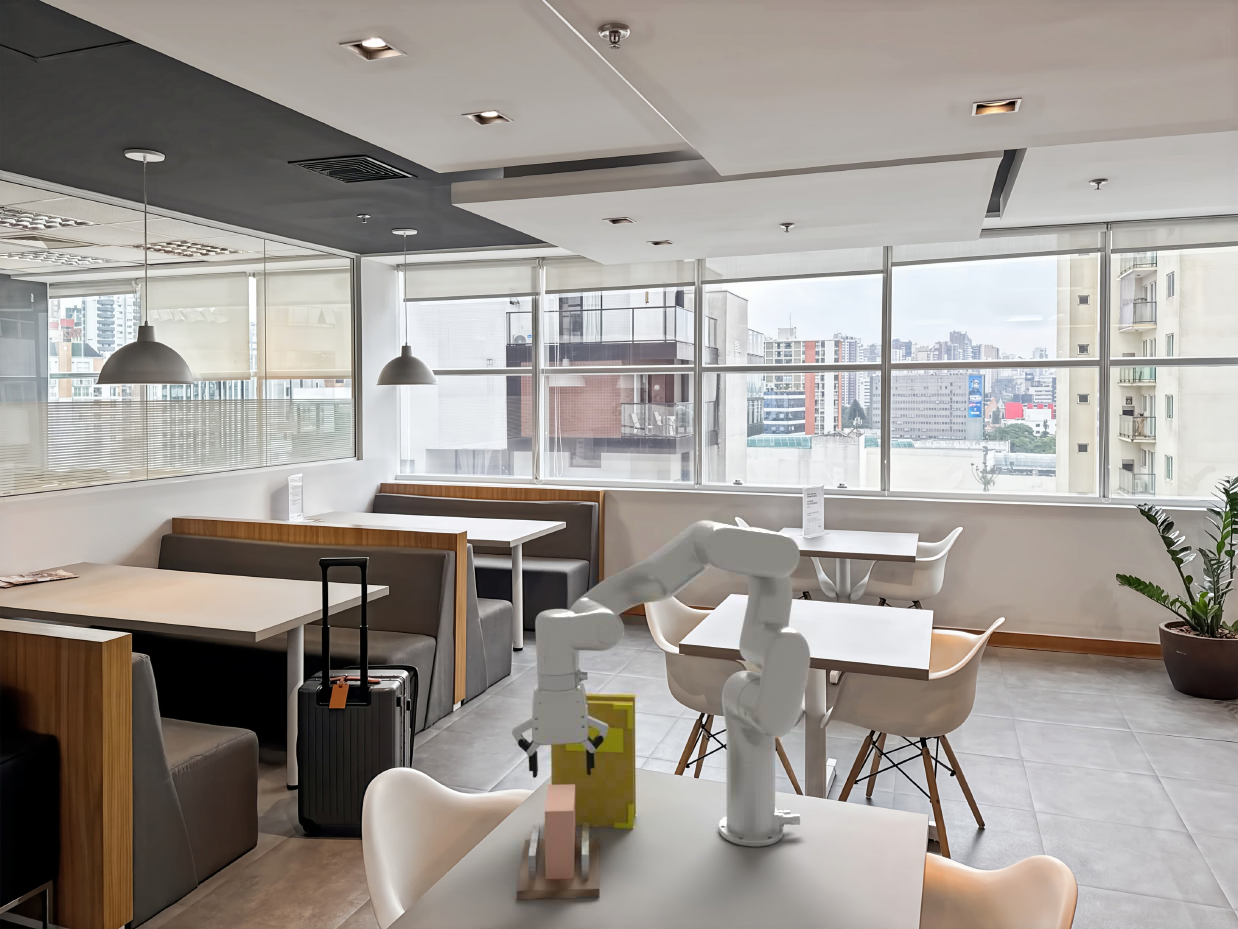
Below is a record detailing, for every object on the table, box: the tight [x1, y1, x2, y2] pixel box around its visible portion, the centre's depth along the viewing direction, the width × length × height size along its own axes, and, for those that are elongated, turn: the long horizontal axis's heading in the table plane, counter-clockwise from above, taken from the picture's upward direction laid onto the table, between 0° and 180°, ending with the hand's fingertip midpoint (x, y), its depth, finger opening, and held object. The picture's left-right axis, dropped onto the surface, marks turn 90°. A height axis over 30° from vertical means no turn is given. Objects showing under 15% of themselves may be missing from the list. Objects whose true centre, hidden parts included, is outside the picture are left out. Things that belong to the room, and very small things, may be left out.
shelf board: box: [516, 837, 600, 900], centre depth 155 cm, size 14×18×2 cm
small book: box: [544, 784, 577, 879], centre depth 154 cm, size 5×11×12 cm, turn 2°
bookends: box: [528, 822, 590, 881], centre depth 155 cm, size 10×12×4 cm
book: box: [550, 693, 637, 829], centre depth 174 cm, size 17×7×25 cm, turn 84°
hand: (562, 773), depth 154 cm, fingers open, 9 cm apart
